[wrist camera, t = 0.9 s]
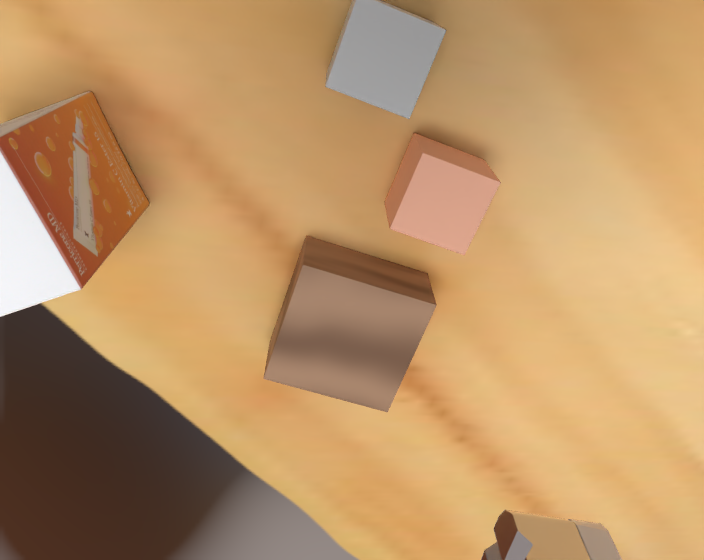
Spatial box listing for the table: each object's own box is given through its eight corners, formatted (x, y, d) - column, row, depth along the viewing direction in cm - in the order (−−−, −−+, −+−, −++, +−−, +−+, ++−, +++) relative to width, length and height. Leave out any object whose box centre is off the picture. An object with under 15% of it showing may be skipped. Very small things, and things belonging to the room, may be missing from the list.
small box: (152, 204, 44) (84, 293, 32) (67, 233, 44) (-29, 330, 33) (93, 86, 40) (-8, 137, 28) (2, 120, 41) (-132, 184, 29)
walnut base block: (306, 234, 45) (303, 264, 41) (426, 271, 47) (436, 305, 42) (270, 340, 49) (263, 378, 44) (382, 371, 50) (387, 412, 46)
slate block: (355, -11, 38) (358, -7, 34) (433, 22, 39) (446, 30, 35) (326, 72, 40) (325, 86, 36) (401, 101, 41) (409, 119, 37)
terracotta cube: (413, 132, 42) (422, 152, 37) (483, 159, 43) (500, 182, 38) (384, 201, 44) (389, 228, 39) (451, 225, 45) (464, 255, 40)
